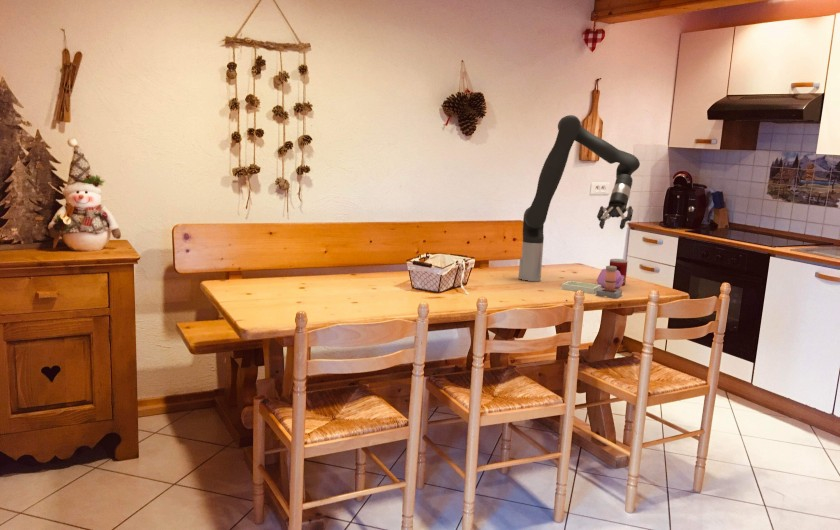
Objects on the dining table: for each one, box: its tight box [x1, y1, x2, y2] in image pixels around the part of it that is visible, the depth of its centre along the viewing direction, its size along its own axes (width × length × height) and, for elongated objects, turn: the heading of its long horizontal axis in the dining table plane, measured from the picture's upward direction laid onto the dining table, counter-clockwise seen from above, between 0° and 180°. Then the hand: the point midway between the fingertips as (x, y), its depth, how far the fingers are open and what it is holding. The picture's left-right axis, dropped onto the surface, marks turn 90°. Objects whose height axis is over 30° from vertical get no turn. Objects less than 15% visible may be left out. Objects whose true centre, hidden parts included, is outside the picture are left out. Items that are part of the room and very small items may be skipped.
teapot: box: [596, 268, 624, 289], centre depth 307 cm, size 10×15×9 cm
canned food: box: [608, 258, 628, 286], centre depth 319 cm, size 8×8×11 cm
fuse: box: [603, 265, 617, 293], centre depth 287 cm, size 4×4×12 cm
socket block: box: [594, 287, 623, 300], centre depth 288 cm, size 9×11×3 cm
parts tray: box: [560, 280, 602, 295], centre depth 298 cm, size 14×10×3 cm
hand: (611, 228), depth 297 cm, fingers open, 8 cm apart
